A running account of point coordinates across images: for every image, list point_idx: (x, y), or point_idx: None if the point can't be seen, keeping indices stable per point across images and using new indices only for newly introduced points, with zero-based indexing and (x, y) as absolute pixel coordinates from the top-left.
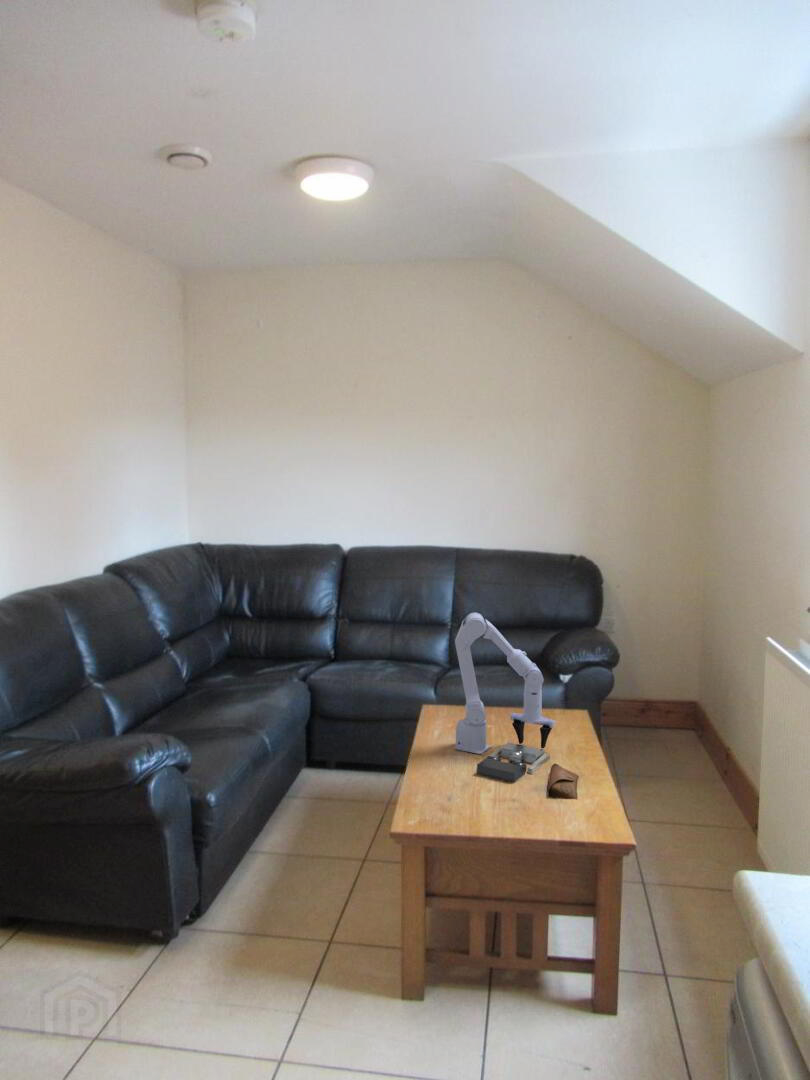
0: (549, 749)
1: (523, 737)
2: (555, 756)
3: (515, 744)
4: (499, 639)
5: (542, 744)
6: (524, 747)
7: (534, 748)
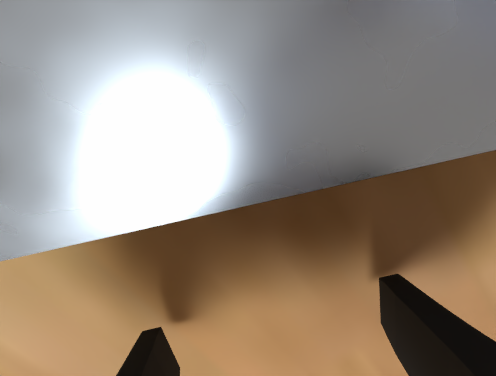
0: None
1: (405, 367)
2: (13, 307)
3: (393, 145)
4: None
5: (127, 364)
6: (214, 137)
7: (80, 208)
